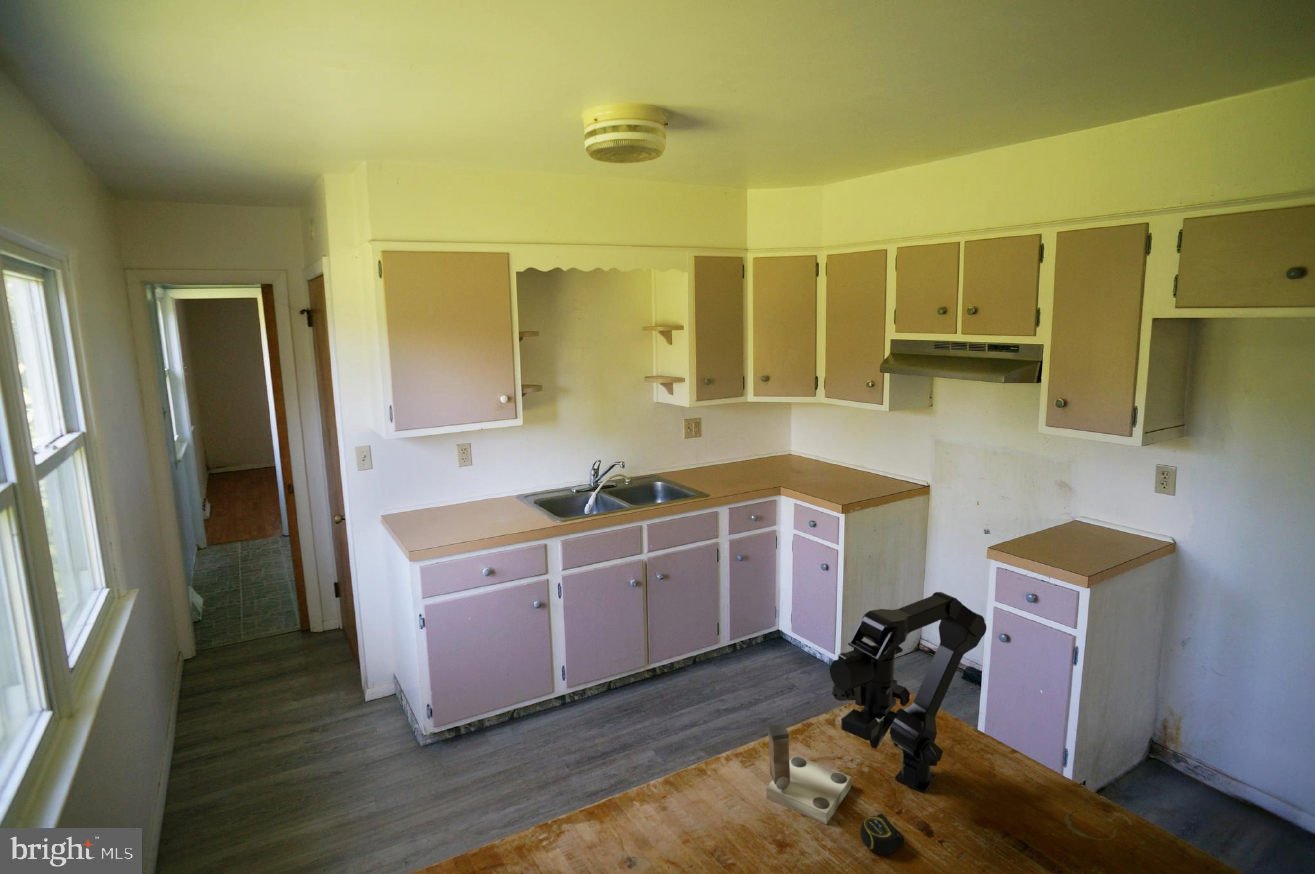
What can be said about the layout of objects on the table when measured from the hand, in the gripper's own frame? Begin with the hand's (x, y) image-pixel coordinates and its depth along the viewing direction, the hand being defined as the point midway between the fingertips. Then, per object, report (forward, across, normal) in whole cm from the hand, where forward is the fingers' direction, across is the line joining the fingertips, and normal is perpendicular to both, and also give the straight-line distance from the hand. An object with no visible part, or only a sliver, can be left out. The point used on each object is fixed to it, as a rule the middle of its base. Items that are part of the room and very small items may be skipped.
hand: (874, 747), depth 140 cm
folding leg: (+9, +11, -15) cm, 21 cm away
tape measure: (+12, +9, +6) cm, 17 cm away
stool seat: (+12, +6, -11) cm, 17 cm away
